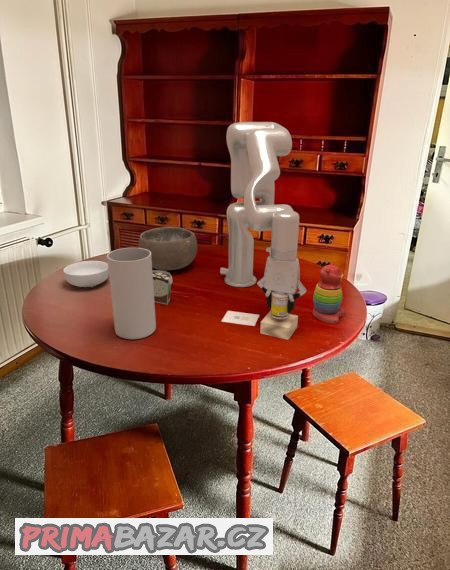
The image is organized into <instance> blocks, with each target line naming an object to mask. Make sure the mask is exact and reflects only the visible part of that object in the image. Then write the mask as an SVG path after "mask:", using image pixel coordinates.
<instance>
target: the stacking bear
mask: <svg viewBox="0 0 450 570" xmlns="http://www.w3.org/2000/svg"><path fill="white" fill-rule="evenodd" d="M319 274H320V275H319V277H320V280H319V281H318V283H317V284H316V286H315V288H314V291H313V297H312V298H313V299H312V301H313V310H312V314H311V315H313V316H314V318H316V319H318V320H319V321H320V322H323V323H327V324H332V325H335V324H338V323H339V322H340V319H339V318H340V317H343V316H345V315H346V310H345V309H344V308H342V307H341V306H342V303H343V297H344V296H343V290H342V289H343V288H342V284H341V283H340V282H342V281H343V279H344V278H345V277H344V273H343V272H342V270H341V269H340V268H339V267H338V266H337V265H335V264H334V263H333V262H332V263H330V264H327V265H324V266H322V268H321V269H320V273H319Z"/></svg>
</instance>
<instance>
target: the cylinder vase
mask: <svg viewBox="0 0 450 570" xmlns="http://www.w3.org/2000/svg"><path fill="white" fill-rule="evenodd" d="M106 259H107V260H106V261H107V264H108V270H109V275H108V278H109V287H110V288H109V289H110V296H111V306H112V315H113V316H112V317H113V325H114V332H115V334H116V336H118V337H119V338H122V339H126V340H139V339H145V338H146V337H149V336H150V335H152V334H153V333H154V332H155V331H156V329H157V328H156V327H157V325H156V324H157V322H156V308H155V307H156V306H155V302H154V289H153V274H152V271H153V268H152V258H151V252H150V251H149V250H147V249H143V248H139V247H125V248H124V247H122V248H118V249H115V250H112V251H110V252H108V253H107V255H106Z"/></svg>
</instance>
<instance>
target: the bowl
mask: <svg viewBox="0 0 450 570" xmlns="http://www.w3.org/2000/svg"><path fill="white" fill-rule="evenodd" d="M138 248H143V249H147V250H149V251H150V252H151V258H152V269H155V270H159V271H165V272H169V271H174V270H180V269H183V268H185V267H188V265H190V264H191V263H192V262H193V260H194V259H195V257H196V255H197V252H198V240H197V237H196V235H195V233H194V232H192V231H191V230H189V229H186V228H183V227H177V226H163V227H157V228H156V227H155V228H152V229H148V230H146V231H143V232H141V234H140V236H139V237H138Z"/></svg>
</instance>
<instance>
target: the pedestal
mask: <svg viewBox="0 0 450 570" xmlns="http://www.w3.org/2000/svg"><path fill="white" fill-rule="evenodd" d="M298 320H299V315H296V314H291V313H289V316H288V317H287V318H285V319H276V318H274V317H272V315H271V310H269V312H268V313H267V314H266V315H265V316H264V318H263V319H261V321H260V331H259V332H260V335H261V334H262V335H266V336H270V337H274V338H277V339H283V340H287V341H289V340H290V339H291V336H292V335H293V334H294V332H295V331H296V330H297V328H298V322H299V321H298Z"/></svg>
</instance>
